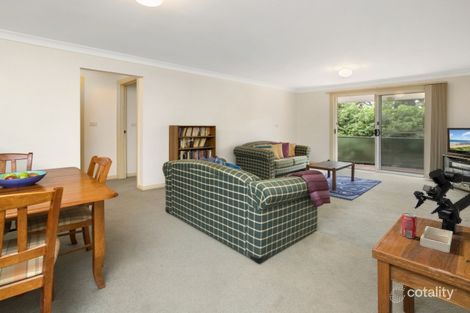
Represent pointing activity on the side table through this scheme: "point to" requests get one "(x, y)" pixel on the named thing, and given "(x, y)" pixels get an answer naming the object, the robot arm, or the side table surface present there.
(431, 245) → the can carrier
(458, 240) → the side table surface
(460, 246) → the side table surface
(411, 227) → the soda can
